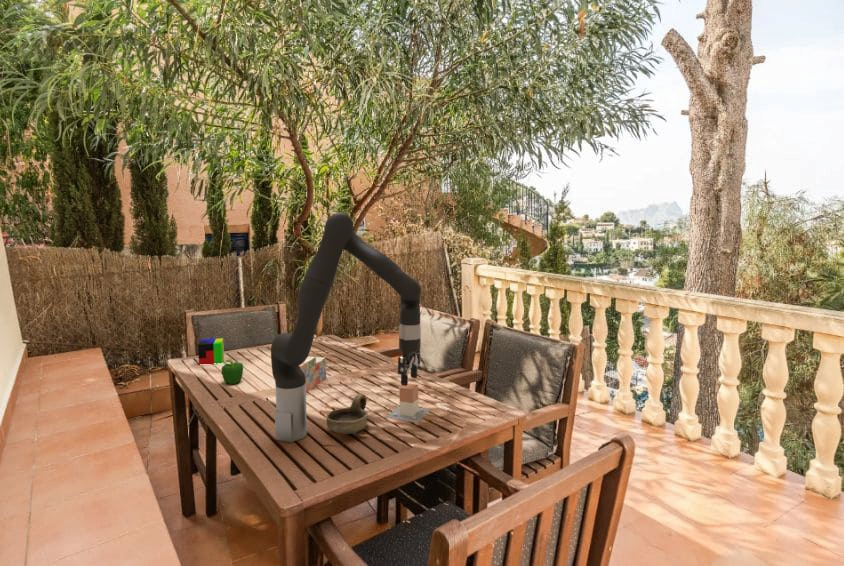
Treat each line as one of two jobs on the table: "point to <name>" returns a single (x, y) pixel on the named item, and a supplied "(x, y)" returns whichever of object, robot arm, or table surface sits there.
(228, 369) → the bell pepper
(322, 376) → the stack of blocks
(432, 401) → the table surface
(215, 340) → the puzzle toy
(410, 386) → the rust cube
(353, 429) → the bowl
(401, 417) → the plate
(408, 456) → the table surface
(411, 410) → the base cube
